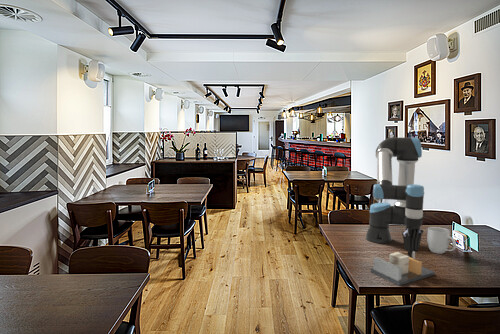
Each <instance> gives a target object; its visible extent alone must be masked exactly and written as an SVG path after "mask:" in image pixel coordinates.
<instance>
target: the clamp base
mask: <svg viewBox="0 0 500 334" xmlns="http://www.w3.org/2000/svg"><path fill="white" fill-rule="evenodd" d="M372 264H373V265H372V268H370V273H371V274H374V275H376V276H379V277H380V278H382V279H384V280H387V282H388V281H389V283H390V282H391V283H393V284H395V285H397V286H399V287H401V286H403V285H407V284H409V283H413V282H416V281H419V280H423V279H425V278H426V279H427V278H428V277H431V276H434V275H435V274H436V271H434V270H432V269H429V268H426V267H424V266H422V270H421V274H420V275H417V274H415V273H412V272H410V271H408V273H405V274H402V267H399V266H397V265H395V264H392V263H390V262H389V261H387V260H385V259H383V258H381V257H378V256H375V257H373V262H372Z"/></svg>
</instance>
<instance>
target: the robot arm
mask: <svg viewBox="0 0 500 334" xmlns="http://www.w3.org/2000/svg"><path fill="white" fill-rule="evenodd" d="M422 154H423V151H422V143H421V140H420V139H419V138H417V137H411V136H410V137H409V136H408V137H388V138H385V139H384V140H382V141H381V142H380V143H379V144H378V146H377V147H376V149H375V158H376V161H377V162H376V163H377V166H376V168H377V169H376V170H377V171H376V172H377V173H376V176H377V177H376V180H377V181H376V183H375V184H374V185H373V191H372V194H373V195H372V196H373V198H374V199H379V200H393V201H395V202H394V203H393V205H391V204H390V202H375V203H372V204H370V206H369V226H368V229H367V232H366V234H365V239H366V240H367V241H369V242H372V243H376V244H390V243H391V242H393V241H392V239H393V238H392V236H391V231H390V226H392V225H393V226H400V227H401V226H402V227H406V228H405V231H402V232H401V235H402V239H403V247H404V251H407V256H409V257H411V258H413V259H416V253H418V252H419V249H420V245H421V240H422V235H423V233H424V229H421V227H422V226H423V217H424V216H423V215H424V212H423V211H424V199H425V198H424V196H425V187H424V185H421V184H415V174H416V173H415V171H416V170H415V169H416V163H418V161H419V159H420V158H422ZM393 158H396V161H397V162H398V163H399V164H398V176H397V177H398V178H397V179H398V180H397V184H393V168H392V167H393V166H392V165H393V164H392V163H393V162H392V159H393Z"/></svg>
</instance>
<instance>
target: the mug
mask: <svg viewBox="0 0 500 334" xmlns="http://www.w3.org/2000/svg"><path fill="white" fill-rule="evenodd" d="M450 234H451V230H449V229H448V228H444V227H439V226H429V227H427V232H426V242H427V247H428V249H429V250H430V252H431V253H434V254H439V255H442V254H445V253H446V252H453V251H454V250H455V249H456V247H457V243H456V239H454V237H452V236H451V235H450ZM450 240H451V241H452V243H453V247H452V248H451V249H448V247H449V243H450Z"/></svg>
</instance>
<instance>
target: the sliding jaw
mask: <svg viewBox="0 0 500 334" xmlns="http://www.w3.org/2000/svg"><path fill="white" fill-rule="evenodd" d="M397 252H398V251H395V252H393V253H397ZM422 267H423V262H422V261H421V260H418V259H416V258H415V259H413V258H411V257H409V267H408V271H410V272H412V273H415V274H417V275H420V274H421V270H422Z"/></svg>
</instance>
